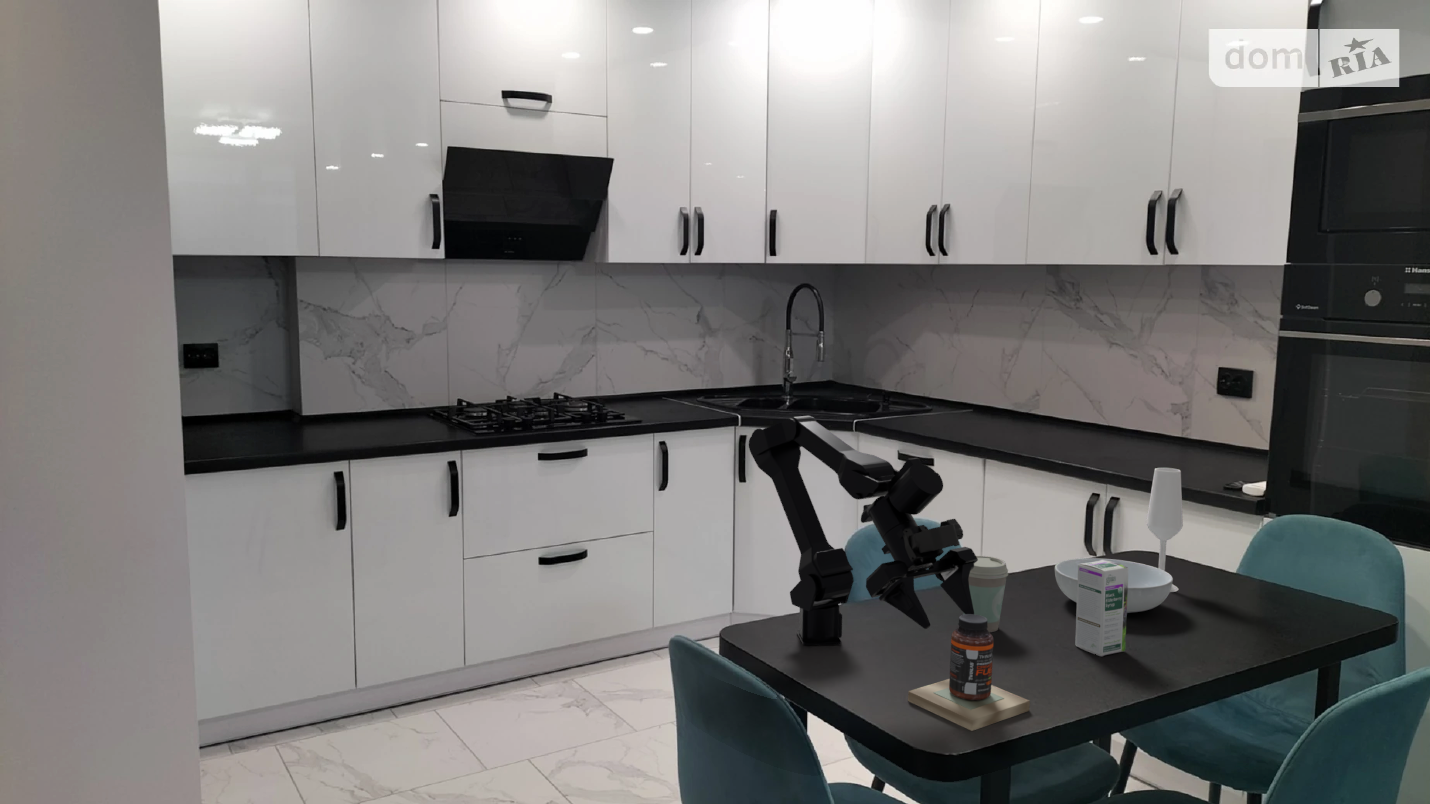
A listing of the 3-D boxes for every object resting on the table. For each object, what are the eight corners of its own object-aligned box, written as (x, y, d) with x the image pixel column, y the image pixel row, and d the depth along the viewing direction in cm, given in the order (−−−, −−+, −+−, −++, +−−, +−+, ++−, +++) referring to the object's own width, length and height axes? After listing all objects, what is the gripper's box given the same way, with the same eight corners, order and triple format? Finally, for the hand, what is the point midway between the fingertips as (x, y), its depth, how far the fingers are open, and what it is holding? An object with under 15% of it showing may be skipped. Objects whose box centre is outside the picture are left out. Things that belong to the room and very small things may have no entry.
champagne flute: (1155, 580, 212) (1162, 465, 209) (1185, 588, 206) (1193, 471, 203) (1135, 585, 208) (1142, 468, 205) (1165, 594, 202) (1172, 474, 200)
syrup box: (1101, 657, 168) (1105, 570, 166) (1073, 646, 173) (1077, 561, 171) (1125, 651, 170) (1130, 566, 169) (1097, 640, 176) (1102, 558, 174)
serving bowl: (1178, 602, 198) (1181, 567, 197) (1160, 632, 180) (1162, 594, 180) (1067, 584, 209) (1069, 551, 208) (1040, 611, 191) (1041, 575, 191)
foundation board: (971, 730, 140) (972, 719, 139) (908, 701, 149) (908, 690, 149) (1029, 710, 146) (1029, 700, 146) (964, 683, 156) (965, 673, 156)
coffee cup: (997, 638, 176) (1000, 570, 175) (949, 629, 180) (952, 563, 179) (1012, 625, 183) (1015, 559, 182) (965, 616, 188) (967, 552, 186)
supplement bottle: (980, 705, 144) (983, 627, 143) (941, 695, 148) (944, 618, 146) (998, 692, 149) (1001, 617, 147) (959, 682, 152) (962, 608, 151)
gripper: (882, 509, 147) (936, 605, 139) (971, 495, 157) (1026, 584, 150) (843, 550, 154) (892, 643, 147) (931, 534, 165) (981, 620, 157)
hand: (950, 621), depth 150 cm, fingers open, 9 cm apart
